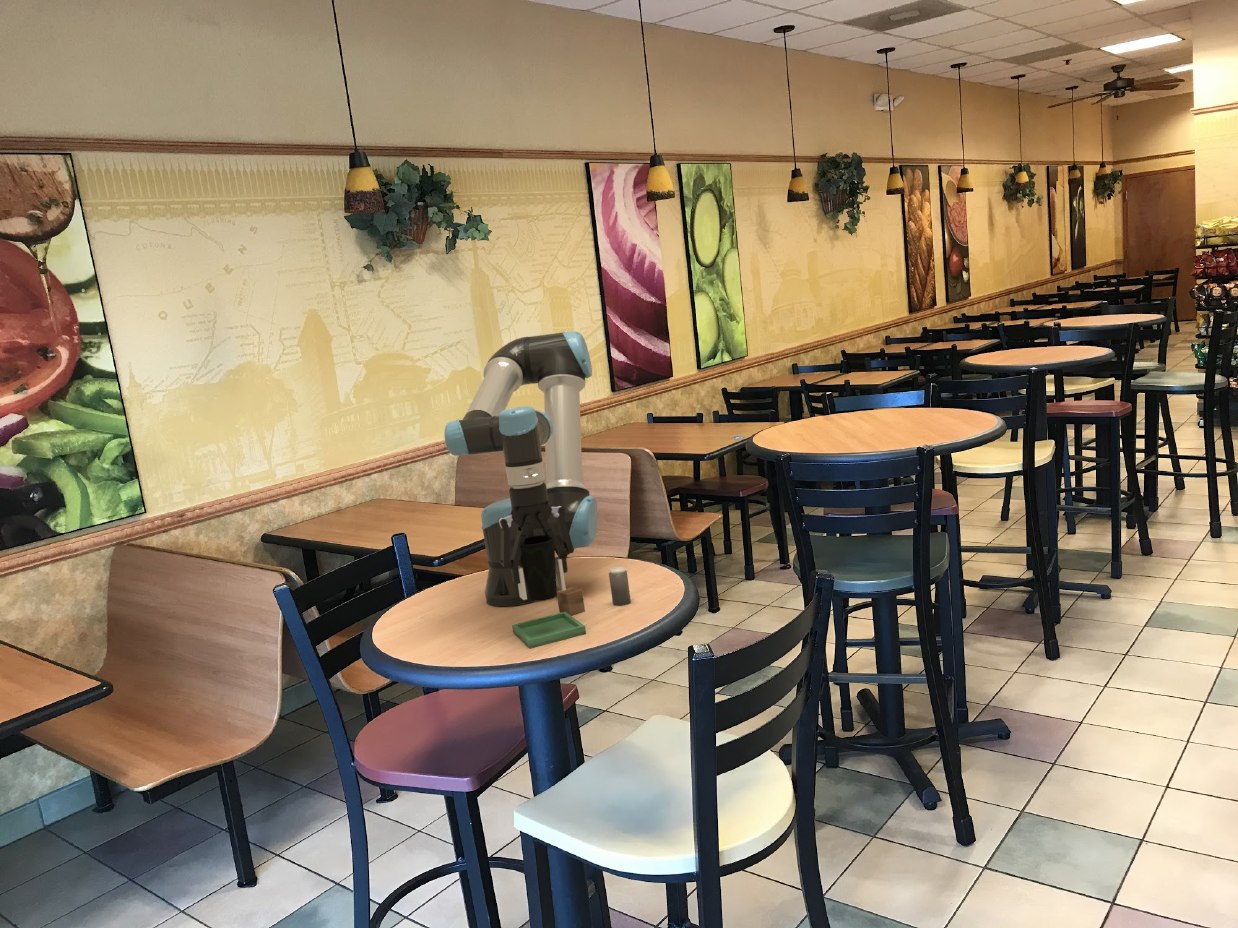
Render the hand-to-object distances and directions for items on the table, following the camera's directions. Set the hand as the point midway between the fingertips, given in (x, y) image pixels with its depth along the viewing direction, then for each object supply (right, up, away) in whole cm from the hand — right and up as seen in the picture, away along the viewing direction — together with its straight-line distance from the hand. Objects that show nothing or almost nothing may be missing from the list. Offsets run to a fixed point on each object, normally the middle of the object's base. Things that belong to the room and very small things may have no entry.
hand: (542, 593), depth 191 cm
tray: (+1, -8, +2) cm, 9 cm away
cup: (0, -1, 0) cm, 1 cm away
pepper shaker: (+16, -4, +15) cm, 23 cm away
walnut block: (+5, -6, +13) cm, 15 cm away
